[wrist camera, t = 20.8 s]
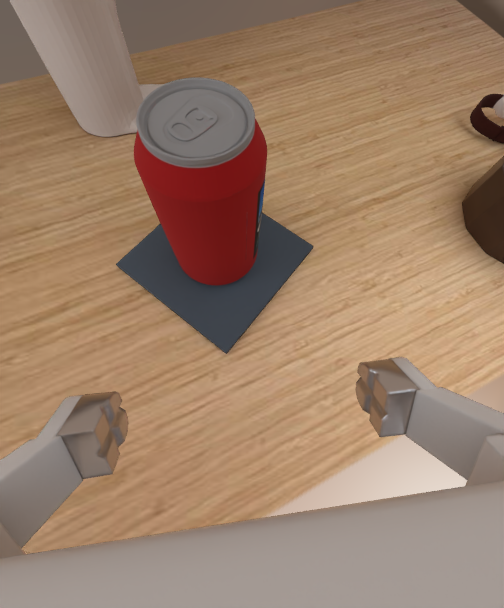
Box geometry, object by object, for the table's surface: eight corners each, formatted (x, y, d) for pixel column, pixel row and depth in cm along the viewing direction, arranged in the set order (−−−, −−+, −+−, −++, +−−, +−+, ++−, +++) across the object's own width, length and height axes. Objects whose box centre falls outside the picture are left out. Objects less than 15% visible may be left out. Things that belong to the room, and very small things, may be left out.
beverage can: (273, 251, 24) (300, 113, 13) (220, 306, 22) (196, 200, 11) (216, 208, 25) (195, 50, 14) (161, 256, 23) (86, 118, 12)
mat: (226, 353, 21) (226, 353, 21) (117, 266, 23) (115, 264, 23) (312, 248, 25) (313, 246, 24) (210, 181, 27) (210, 178, 27)
